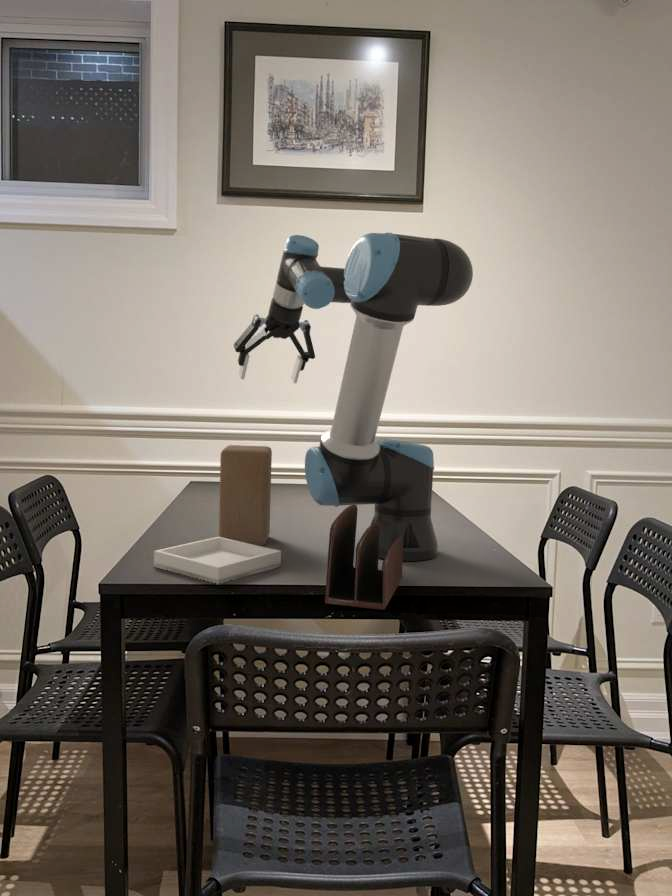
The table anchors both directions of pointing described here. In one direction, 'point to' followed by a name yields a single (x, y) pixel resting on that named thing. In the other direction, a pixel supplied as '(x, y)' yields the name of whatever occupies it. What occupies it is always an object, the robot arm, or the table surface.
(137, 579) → the table surface
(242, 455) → the block
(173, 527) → the table surface
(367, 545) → the letter holder
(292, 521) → the table surface
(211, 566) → the tray
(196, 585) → the table surface
